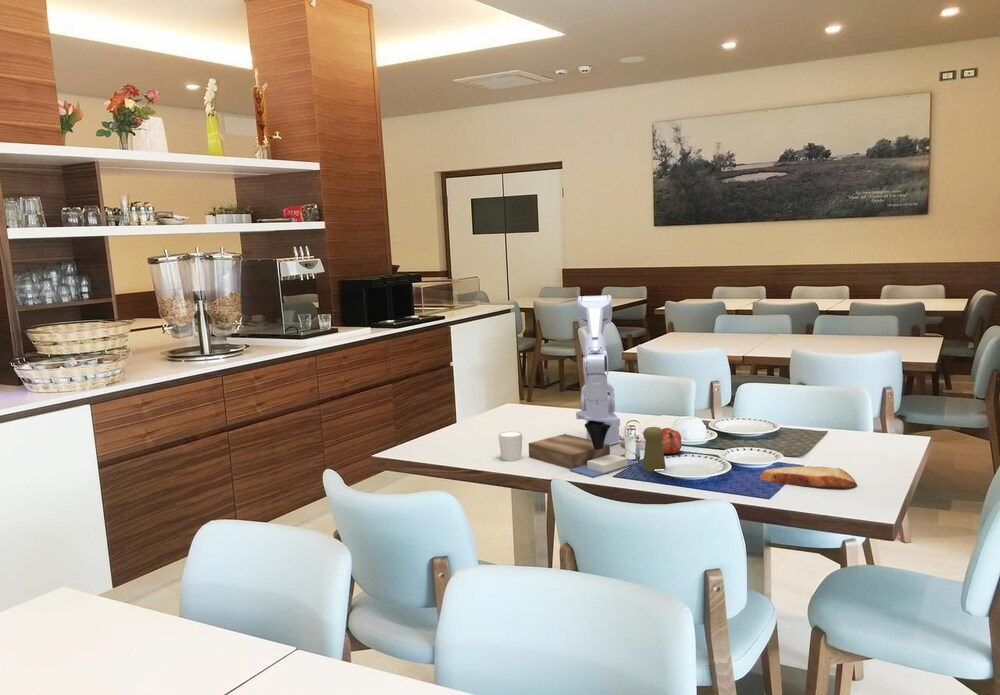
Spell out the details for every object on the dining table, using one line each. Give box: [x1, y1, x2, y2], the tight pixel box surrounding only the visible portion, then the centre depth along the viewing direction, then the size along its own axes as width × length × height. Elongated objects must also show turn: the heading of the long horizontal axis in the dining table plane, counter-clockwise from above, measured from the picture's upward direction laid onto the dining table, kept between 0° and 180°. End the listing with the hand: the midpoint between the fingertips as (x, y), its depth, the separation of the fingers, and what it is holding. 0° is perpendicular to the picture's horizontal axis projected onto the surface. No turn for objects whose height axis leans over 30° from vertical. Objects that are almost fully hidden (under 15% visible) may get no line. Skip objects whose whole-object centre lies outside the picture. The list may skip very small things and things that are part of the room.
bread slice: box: [759, 465, 858, 490], centre depth 196 cm, size 18×18×4 cm
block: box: [587, 453, 628, 473], centre depth 214 cm, size 9×6×2 cm, turn 128°
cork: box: [642, 426, 667, 473], centre depth 212 cm, size 6×6×11 cm
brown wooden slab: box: [528, 433, 611, 470], centre depth 226 cm, size 14×18×4 cm
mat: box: [569, 459, 639, 479], centre depth 216 cm, size 17×9×1 cm, turn 128°
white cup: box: [498, 430, 523, 462], centre depth 229 cm, size 7×7×7 cm
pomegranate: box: [661, 427, 682, 455], centre depth 226 cm, size 7×7×10 cm
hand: (598, 448), depth 217 cm, fingers closed
